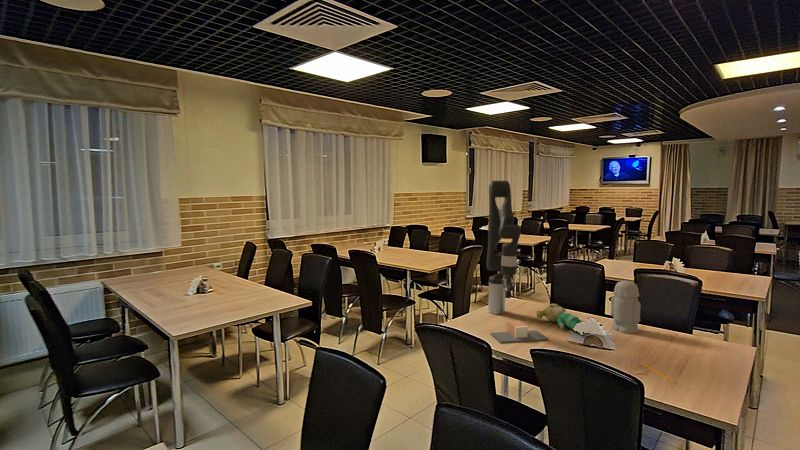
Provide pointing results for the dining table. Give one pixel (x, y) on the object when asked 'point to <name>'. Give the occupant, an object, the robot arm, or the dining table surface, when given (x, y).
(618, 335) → the dining table surface
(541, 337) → the mat
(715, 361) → the dining table surface
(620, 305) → the grey stone figurine
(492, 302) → the robot arm
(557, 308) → the toy
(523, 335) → the block
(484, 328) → the dining table surface
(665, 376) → the pencil
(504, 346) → the dining table surface
